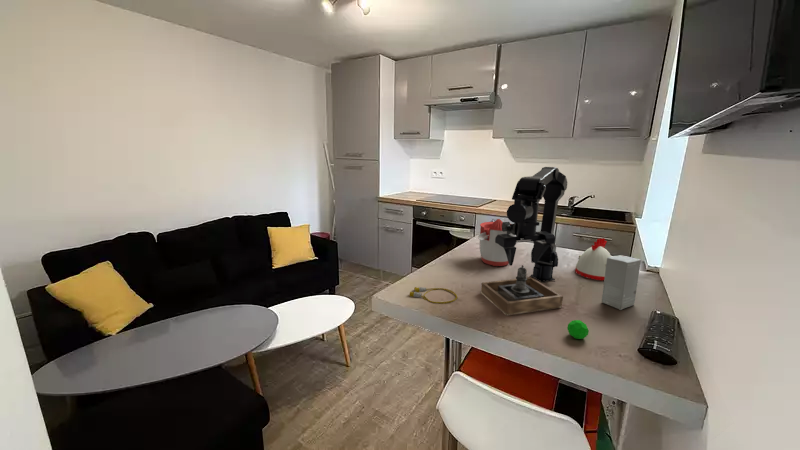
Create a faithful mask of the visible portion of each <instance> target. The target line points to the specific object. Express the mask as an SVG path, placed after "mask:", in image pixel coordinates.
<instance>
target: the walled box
mask: <svg viewBox="0 0 800 450" xmlns="http://www.w3.org/2000/svg"><path fill="white" fill-rule="evenodd" d="M526 278H527V280H526V284H527V285H529V286H530V287H532V288H533V289H535V290H536V291H538V292H539V293H541V294H542V295H544V297H541V298H533V299H526V300H518V301H510V302H508V301H507V300H506V299H505V298H503V297H502V296H501V295H500V294H498V286H501V285H510V284H516V280H517V279H516V278H511V279H501V280H494V281H485V282H481V291H480V294H481V295H482V296H484V297H485V298H486V299H487V300H488V301H489V302H491V304H493V305H494V306H495V307H496V308H497V309H498V310H500V311H501V312H502V313H503V314H504V315H505V316H513V315H519V314H525V313H534V312H541V311H547V310H549V311H550V310H553V309H561V308H562V307H563V299H564V296H563V295H561V294H560V293H558V292H557V291H555V290H553V289H552V288H550V287H549V286H547V285H545V284H543V282H540V281H538V280H537V279H535V278H533V277H532V276H529V277H526ZM513 295H514V294H513Z"/></svg>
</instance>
